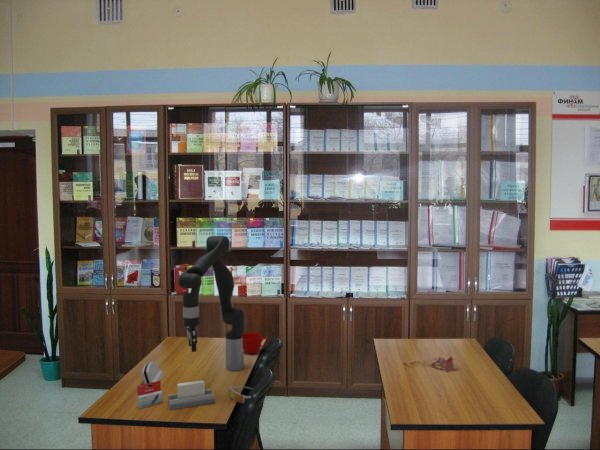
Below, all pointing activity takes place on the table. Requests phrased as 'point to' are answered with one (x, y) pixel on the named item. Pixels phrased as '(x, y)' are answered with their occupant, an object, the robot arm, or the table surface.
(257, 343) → the ceramic cup
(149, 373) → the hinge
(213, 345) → the table surface
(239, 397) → the sunglasses
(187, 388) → the door panel
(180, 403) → the track
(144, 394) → the ink cartridge box
